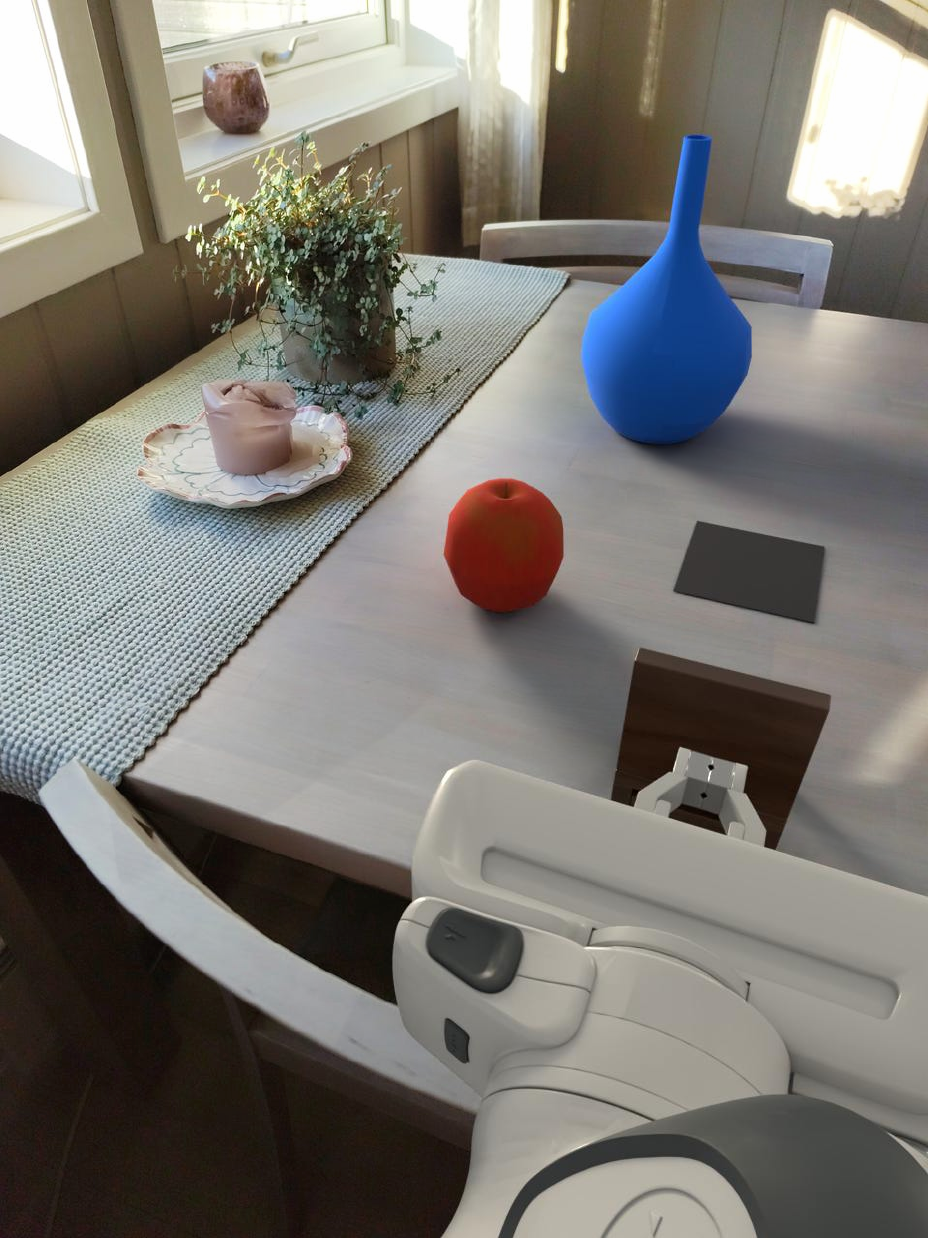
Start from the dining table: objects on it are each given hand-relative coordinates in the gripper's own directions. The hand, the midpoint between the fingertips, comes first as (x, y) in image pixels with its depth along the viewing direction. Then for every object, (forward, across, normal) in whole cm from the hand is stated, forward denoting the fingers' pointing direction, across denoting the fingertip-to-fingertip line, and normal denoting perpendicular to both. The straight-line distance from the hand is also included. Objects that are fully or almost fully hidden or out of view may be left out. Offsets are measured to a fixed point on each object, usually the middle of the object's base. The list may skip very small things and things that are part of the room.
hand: (710, 765), depth 37 cm
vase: (+67, +14, +19) cm, 71 cm away
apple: (+30, +20, +19) cm, 41 cm away
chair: (+13, 0, +18) cm, 23 cm away
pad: (+42, 0, +18) cm, 46 cm away
